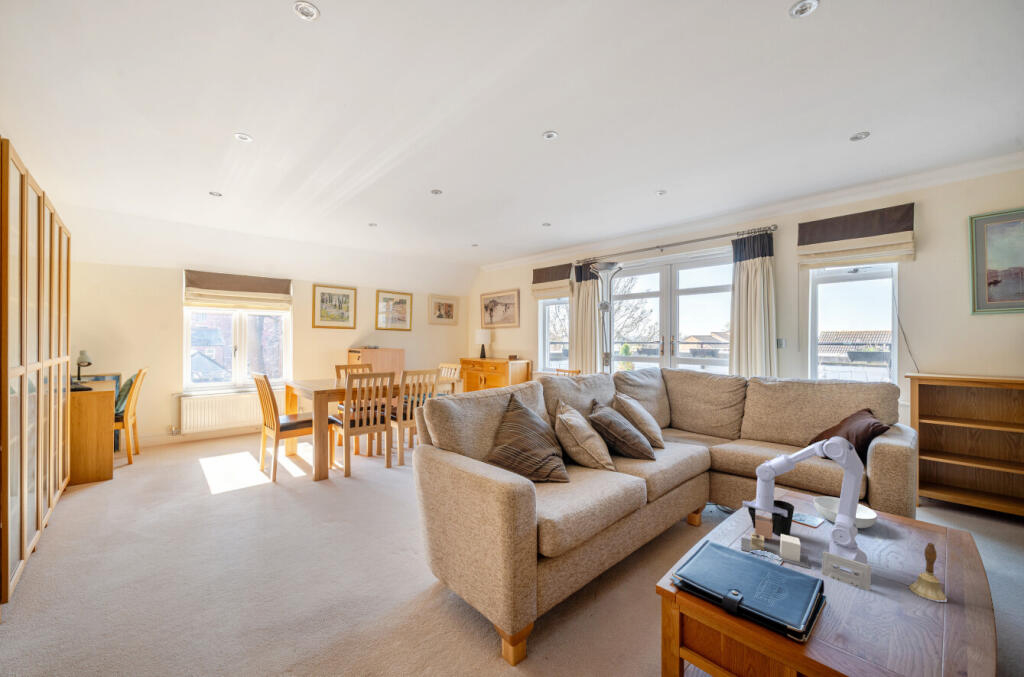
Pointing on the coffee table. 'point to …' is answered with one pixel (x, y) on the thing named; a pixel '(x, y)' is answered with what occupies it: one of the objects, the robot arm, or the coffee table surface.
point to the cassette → (845, 576)
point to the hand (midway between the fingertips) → (763, 529)
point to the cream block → (790, 547)
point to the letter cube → (757, 542)
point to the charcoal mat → (775, 550)
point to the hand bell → (928, 578)
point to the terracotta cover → (763, 526)
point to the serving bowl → (830, 511)
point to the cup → (784, 518)
